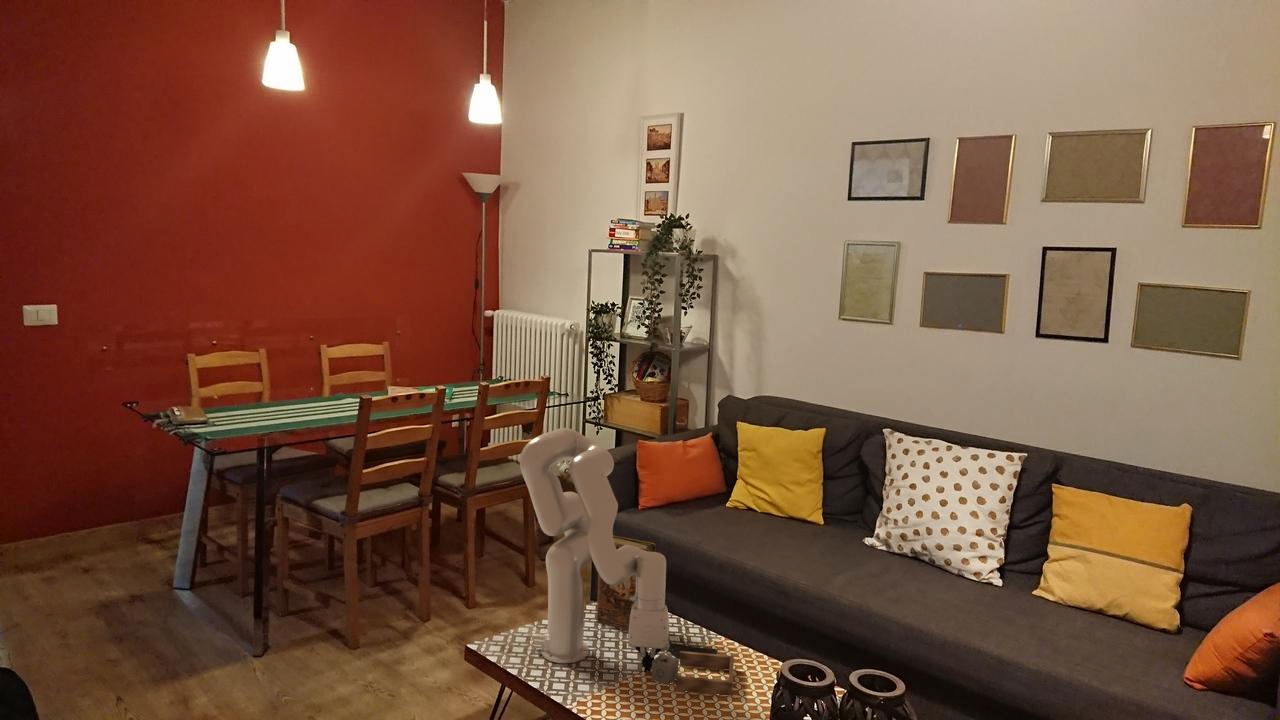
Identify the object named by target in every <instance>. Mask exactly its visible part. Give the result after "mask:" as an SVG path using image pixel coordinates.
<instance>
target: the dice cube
mask: <svg viewBox="0 0 1280 720" xmlns="http://www.w3.org/2000/svg"><path fill="white" fill-rule="evenodd" d="M679 663H680V659H678V658H676V657H674V656H670V655H667V654H664V653H660V654H659V655H658V656H657V657H656V658H655V657H654V660H653V661H652V668H651V672H650V673H651V675H650V676H651V677H650V678H651V679H650V680H651V681H653V682H656V683H659V684H662V685H665V686H668V685H669V686H670V685H671V684H672V683H674V682H675V681H676V676H679ZM670 683H671V684H670Z"/></svg>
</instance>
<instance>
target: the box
mask: <svg viewBox="0 0 1280 720" xmlns="http://www.w3.org/2000/svg"><path fill="white" fill-rule="evenodd" d="M734 659H735V656H734V655H729V654H727V655H726V654H718V653H717V654H707V653H696V652H686V651H680V659H679V666H681V665H682V667H683V666H684V667H691V666H692V668H693V667H694V668H704V669H714V670H723V669H729V670H728V671H729V673H728V680H725V679H717V678H716V679H715V678H714V679H713V678H705V677H695V676H685V675H684V676H683V675H678V676H676V679H675V692H681V691H687V692H686V693H692V692H693V693H694V694H703V695H704V694H705V695H712V694H719V695H718V696H722V695H731V696H730V697H733V691H734V690H733V689H734V669H735V668H734V665H735V664H734V663H735V660H734Z"/></svg>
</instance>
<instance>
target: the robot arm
mask: <svg viewBox="0 0 1280 720" xmlns="http://www.w3.org/2000/svg"><path fill="white" fill-rule="evenodd" d="M519 457H520V458H519V466H520V467H519V468H520V471H521V474H522V477H523V479H524V481H525V484H526V487H527V490H528V492H529V496H530V499H531V502H532V505H533V509H534V511H535V515H536V518H537V521H538V524H539V526H540V529H541V530H542V532H543V533H544V534H546V535H547V536H550V537H557V536H559V535H562V534H564V536H563V537H562V538H560V539H558V540H557V541H555V542H554V543H553V544H552V545H551V546H550V547H549V549H548V550H547V553H546V555H545V568H546V573H547V581H548V582H547V583H548V584H547V586H548V587H547V589H548V592H547V593H548V594H547V597H548V598H547V599H548V602H547V604H548V605H547V633H544V634H540V633H532V635H531V641H532V642H533V644H534V645H535V646H536V645H537V646H541V656H542V657H543V658H544V659H545V660H547V661H549V662H552V663H557V664H573V663H577V662H580V661H582V660H583V659H585V658H586V657H587V656H588V654H589V651H590V650H589V646H588V645H587V643H586V642H584V619H585V616H584V615H585V614H584V613H585V583H584V580H583V577H582V570H583V569H584V568H585V567H586V566H588V565H590V563H592V562H593V564H594V567H595V569H596V572H597V573H599V575H600V577H601V578H602V579H603V581H604V582H606V583H607V584H609V585H613V586H616V585H620V584H622V583H623V582H625V581H626V580H627V579H628V578H630V577H631V576H634V575H636V594H635V595H633V596H632V595H630V601H633V602H634V604H633V606H632V609H631V614H630V622H629V630H628V638H627V639H628V641H627V647H629V648H632V649H635V650H636V651H637V652H638V653H639V655H640V656H641V667H642V668H643V672H644V673H647V672H648V673H651V672H652V661H653V660H654V659H655V657H656V656H657V655H658V654H659V653H660V652H664V651H669V647H670V645H669V641H670V640H669V637H670V621H669V620H670V619H669V612H668V606H667V605H666V583H667V582H666V580H667V576H666V575H667V559H666V556H665V555H663V554H662V553H661V552H657V551H656V552H648V551H645V550H642V549H640V548H638V547H635V546H632V545H624V546H622V547H620V548H619V549H617V550H616V547H615V544H614V540H613V536H614V531H613V530H614V525H615V524H614V523H615V521H616V517H617V513H618V508H619V503H618V501H617V498H616V497H615V494H614V492H613V491H614V490H612V489H613V488H612V486H611V484H610V481H609V479H608V476H609V475H610V474H611V473H612V472H613V471H614V467H615V462H614V457H613V456H612V454H611V453H610V452H609V450H607V449H606V448H605V447H604V446H602V445H601V444H599V443H598V442H595V441H594V440H592V439H590V438H588V437H587V436H585V435H583V434H582V433H579V431H576V430H574V429H572V428H568V427H561V428H556V429H554V430H552V431H549V432H546V433H542V434H540V435H538V436H536V437H534V438H533V439H531V440H530V441H529V442H528V443H527V444H525V446H524V447H523V448H522V451H521V452H520V456H519ZM566 460H567V461H569V467H568V470H569V474H570V478H571V480H572V483H573V485H574V487H575V490H576V492H577V493H576V492H574V491H565V492H564V491H563V488H562V484H561V480H560V479H559V477H558V475H557V473H555V472H554V470H553V469H552V468H553V466H554V465H556V464H559V463H561V462H563V461H566ZM647 649H651V650H650V651H648V650H647Z"/></svg>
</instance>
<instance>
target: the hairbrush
mask: <svg viewBox="0 0 1280 720" xmlns="http://www.w3.org/2000/svg"><path fill="white" fill-rule="evenodd" d="M668 641H669V645H670V647H669V650H668V652H669V653H670V654H671V655H672V656H673V657H674V658H677V659H679V660H680V651H686V652H696V653H707V654H718V649H717V647H714V648H713V645H710V647H704V646H705V645H704V644H705V643H702V644H701V643H700V644H697V645H698V646H697V645H696V646H695V644H692V645H689V644H690V643H687V644H685V641H683V642H681V643H682V644H681V643H679V642H680V641H679V640H678V641H675V640H673V641H670V640H668ZM674 642H675V643H674ZM676 642H678V643H676ZM700 646H701V647H700Z"/></svg>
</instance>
